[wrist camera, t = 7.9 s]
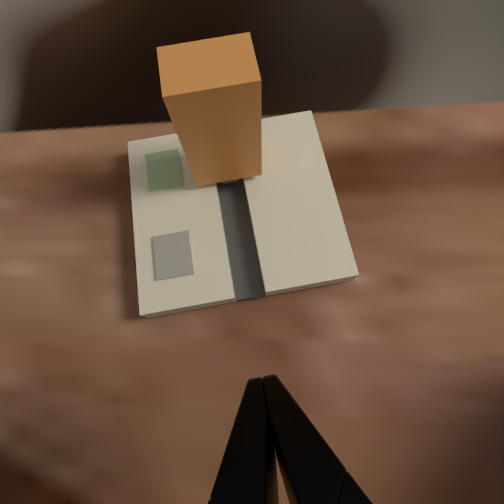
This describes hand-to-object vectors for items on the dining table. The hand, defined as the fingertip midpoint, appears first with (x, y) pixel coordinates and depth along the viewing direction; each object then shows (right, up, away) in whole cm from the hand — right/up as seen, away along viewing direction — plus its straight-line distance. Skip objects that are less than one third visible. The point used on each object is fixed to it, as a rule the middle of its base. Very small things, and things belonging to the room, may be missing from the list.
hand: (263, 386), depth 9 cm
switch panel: (-2, +7, +14) cm, 16 cm away
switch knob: (-2, +10, +14) cm, 17 cm away
